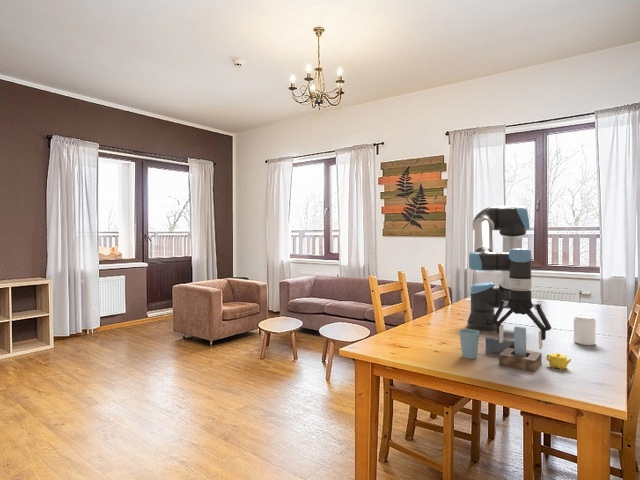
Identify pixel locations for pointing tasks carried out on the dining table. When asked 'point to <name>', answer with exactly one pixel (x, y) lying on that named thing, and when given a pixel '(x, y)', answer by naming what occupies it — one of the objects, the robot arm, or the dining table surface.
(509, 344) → the rail
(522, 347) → the peg
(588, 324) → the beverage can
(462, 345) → the cup
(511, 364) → the socket block
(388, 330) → the dining table surface
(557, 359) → the teapot
